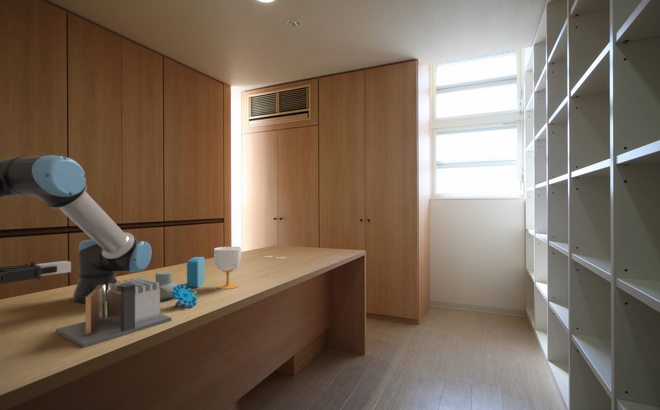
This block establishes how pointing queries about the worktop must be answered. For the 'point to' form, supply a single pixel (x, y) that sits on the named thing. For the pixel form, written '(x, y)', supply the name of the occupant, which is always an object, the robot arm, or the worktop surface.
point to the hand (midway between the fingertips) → (68, 266)
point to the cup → (227, 262)
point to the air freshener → (165, 284)
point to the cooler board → (111, 322)
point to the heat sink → (144, 300)
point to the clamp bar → (95, 307)
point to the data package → (195, 272)
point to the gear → (184, 296)
